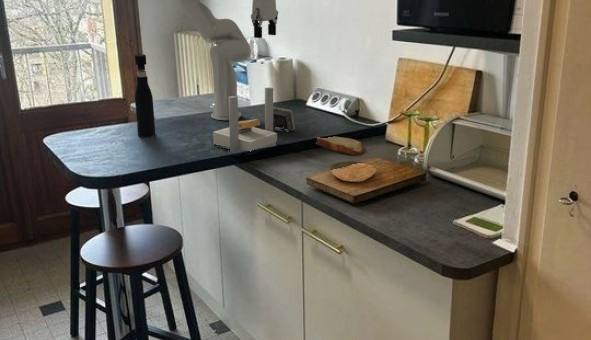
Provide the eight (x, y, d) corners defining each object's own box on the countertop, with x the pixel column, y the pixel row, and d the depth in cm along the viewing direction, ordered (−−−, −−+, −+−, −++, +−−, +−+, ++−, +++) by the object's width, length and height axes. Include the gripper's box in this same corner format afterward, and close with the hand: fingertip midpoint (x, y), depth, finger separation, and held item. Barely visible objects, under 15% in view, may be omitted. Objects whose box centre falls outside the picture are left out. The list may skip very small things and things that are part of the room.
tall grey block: (259, 142, 209) (259, 88, 202) (268, 139, 213) (268, 86, 206) (269, 145, 206) (269, 90, 199) (278, 141, 210) (278, 88, 203)
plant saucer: (322, 181, 175) (322, 173, 174) (336, 166, 188) (337, 158, 187) (369, 188, 170) (370, 180, 169) (380, 172, 183) (381, 164, 182)
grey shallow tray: (213, 145, 205) (213, 128, 203) (240, 136, 215) (240, 120, 213) (250, 156, 195) (249, 138, 192) (276, 146, 205) (277, 129, 203)
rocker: (230, 129, 204) (229, 123, 203) (240, 126, 208) (239, 120, 207) (250, 127, 197) (249, 121, 197) (260, 124, 201) (259, 118, 201)
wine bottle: (159, 133, 217) (153, 54, 207) (148, 138, 212) (141, 57, 201) (145, 131, 220) (138, 53, 209) (134, 136, 214) (127, 55, 204)
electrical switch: (295, 131, 223) (294, 108, 219) (288, 135, 219) (287, 112, 215) (276, 127, 228) (274, 105, 224) (268, 131, 224) (267, 109, 220)
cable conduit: (224, 154, 196) (222, 97, 189) (234, 150, 200) (233, 94, 193) (234, 157, 193) (233, 99, 186) (244, 153, 197) (243, 97, 190)
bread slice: (313, 140, 214) (313, 130, 212) (361, 141, 213) (361, 131, 212) (313, 156, 197) (313, 145, 196) (365, 157, 197) (365, 146, 195)
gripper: (268, -13, 216) (268, 33, 222) (242, -11, 201) (243, 38, 207) (285, -13, 212) (285, 34, 218) (260, -11, 198) (261, 39, 204)
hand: (265, 36), depth 213 cm, fingers open, 9 cm apart
